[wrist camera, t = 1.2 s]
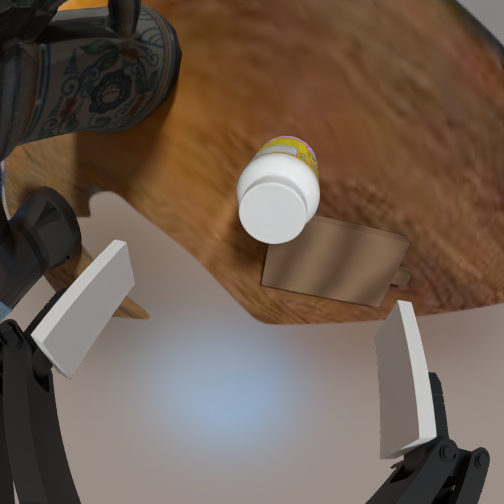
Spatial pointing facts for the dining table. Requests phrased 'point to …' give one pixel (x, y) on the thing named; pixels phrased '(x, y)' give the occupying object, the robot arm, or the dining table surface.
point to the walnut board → (338, 262)
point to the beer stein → (81, 68)
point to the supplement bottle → (279, 190)
